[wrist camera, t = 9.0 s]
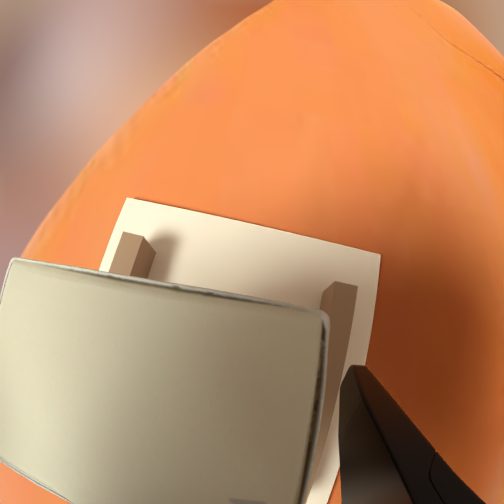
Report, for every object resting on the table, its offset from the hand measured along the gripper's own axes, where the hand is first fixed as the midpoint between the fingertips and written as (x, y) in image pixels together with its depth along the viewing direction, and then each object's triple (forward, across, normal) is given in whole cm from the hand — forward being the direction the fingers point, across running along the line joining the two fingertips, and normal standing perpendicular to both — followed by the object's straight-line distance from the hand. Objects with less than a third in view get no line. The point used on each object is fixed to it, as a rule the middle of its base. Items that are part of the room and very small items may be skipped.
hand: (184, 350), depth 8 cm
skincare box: (+5, 0, +7) cm, 8 cm away
